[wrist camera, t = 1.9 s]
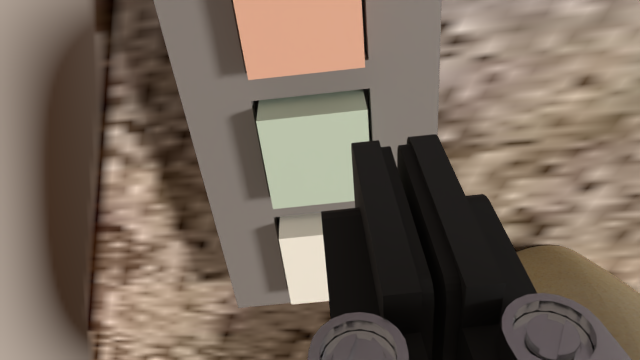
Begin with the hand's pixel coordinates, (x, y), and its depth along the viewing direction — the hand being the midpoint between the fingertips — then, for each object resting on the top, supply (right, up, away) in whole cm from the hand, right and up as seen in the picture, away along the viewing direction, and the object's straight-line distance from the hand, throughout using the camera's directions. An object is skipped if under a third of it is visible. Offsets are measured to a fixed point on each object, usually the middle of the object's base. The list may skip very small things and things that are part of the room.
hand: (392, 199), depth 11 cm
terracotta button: (-2, +8, +12) cm, 15 cm away
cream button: (-1, -3, +20) cm, 20 cm away
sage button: (-2, +3, +16) cm, 17 cm away
